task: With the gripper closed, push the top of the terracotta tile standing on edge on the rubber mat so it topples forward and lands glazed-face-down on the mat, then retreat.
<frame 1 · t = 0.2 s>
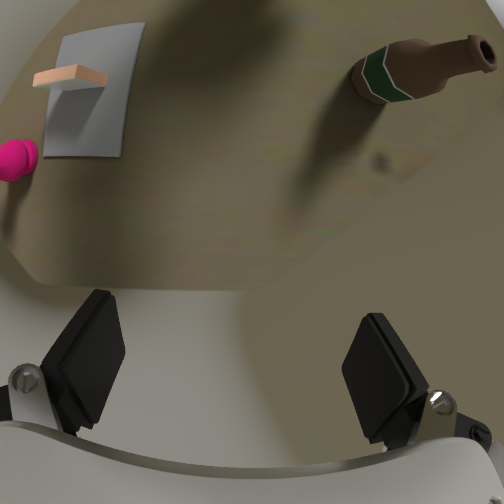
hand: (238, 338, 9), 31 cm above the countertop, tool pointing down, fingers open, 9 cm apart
pepper mill: (28, 156, 33), on the countertop
beer bottle: (371, 81, 32), on the countertop
mat: (87, 89, 30), on the countertop
tile: (86, 82, 29), point 1 cm above the countertop, touching mat
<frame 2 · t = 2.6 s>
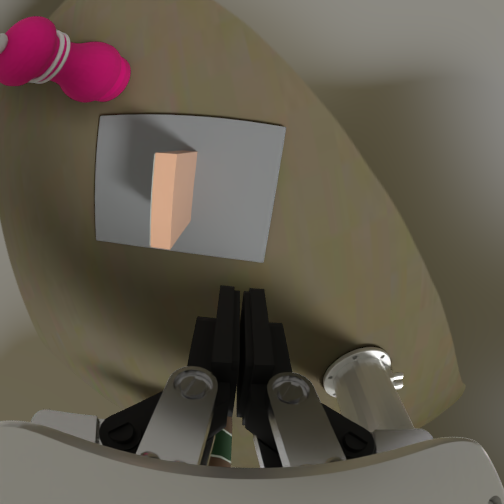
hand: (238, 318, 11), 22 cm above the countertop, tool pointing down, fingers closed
pepper mill: (109, 78, 24), on the countertop
beer bottle: (213, 416, 46), on the countertop
mat: (178, 184, 30), on the countertop
tile: (185, 186, 29), point 1 cm above the countertop, touching mat
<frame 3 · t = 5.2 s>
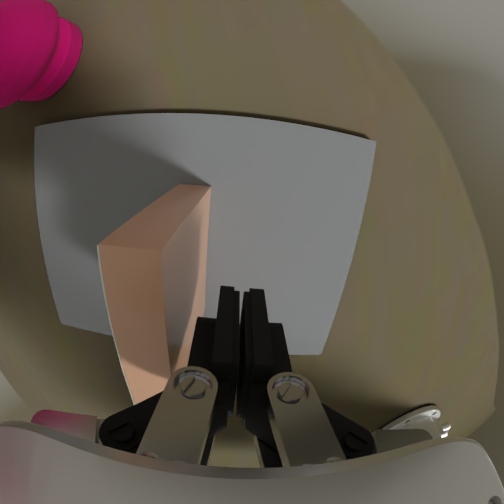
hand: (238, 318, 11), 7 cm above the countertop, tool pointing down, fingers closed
pepper mill: (50, 61, 11), on the countertop
mat: (178, 245, 17), on the countertop
tile: (192, 251, 16), point 1 cm above the countertop, touching gripper, mat
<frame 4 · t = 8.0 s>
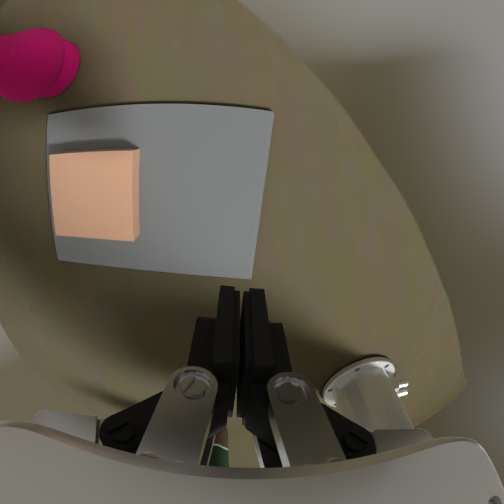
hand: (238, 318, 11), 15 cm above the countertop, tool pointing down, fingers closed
pepper mill: (57, 69, 16), on the countertop
beer bottle: (207, 429, 42), on the countertop
mat: (142, 190, 23), on the countertop
tile: (135, 195, 22), point 2 cm above the countertop, tilted 90°, touching mat
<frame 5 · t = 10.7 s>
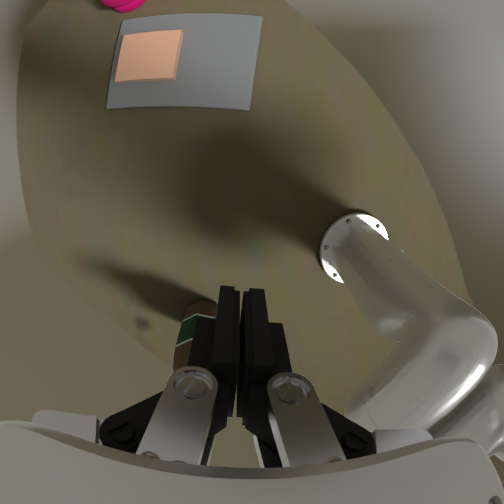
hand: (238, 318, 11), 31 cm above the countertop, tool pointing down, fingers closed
beer bottle: (205, 315, 48), on the countertop
mat: (180, 57, 31), on the countertop
tile: (178, 54, 29), point 2 cm above the countertop, tilted 90°, touching mat
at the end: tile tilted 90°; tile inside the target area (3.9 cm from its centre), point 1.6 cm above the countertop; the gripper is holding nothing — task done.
